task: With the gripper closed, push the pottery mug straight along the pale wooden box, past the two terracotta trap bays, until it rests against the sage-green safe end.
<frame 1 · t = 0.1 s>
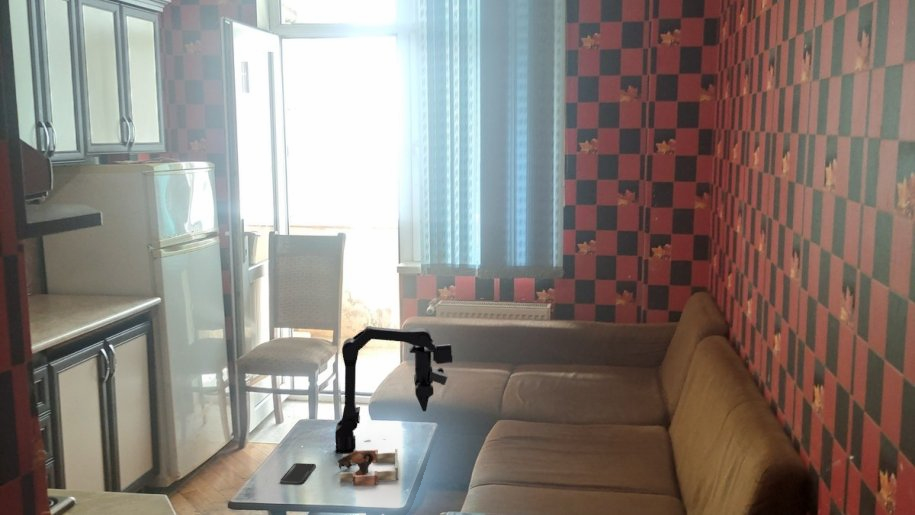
hand: (424, 407, 291), 15 cm above the table, tool pointing down, fingers open, 9 cm apart
pottery mug: (357, 472, 272), on the table
phone: (298, 476, 270), on the table
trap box: (370, 471, 272), on the table
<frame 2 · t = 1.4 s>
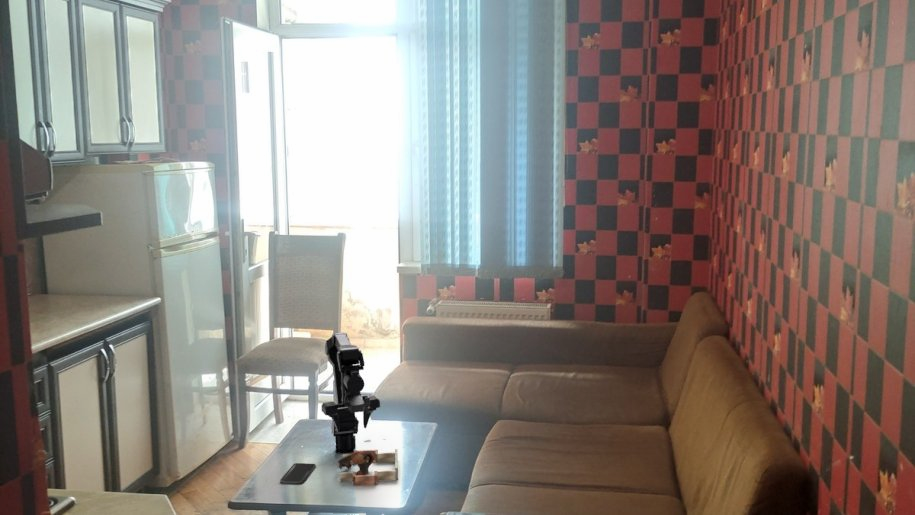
hand: (351, 430, 275), 13 cm above the table, tool pointing down, fingers open, 9 cm apart
nothing on the table moved.
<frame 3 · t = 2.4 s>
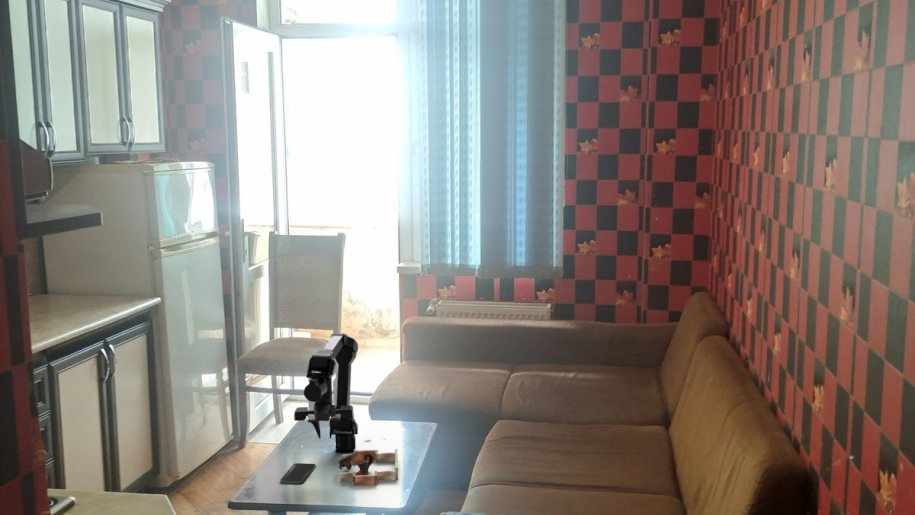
hand: (325, 438, 269), 12 cm above the table, tool pointing down, fingers open, 3 cm apart
nothing on the table moved.
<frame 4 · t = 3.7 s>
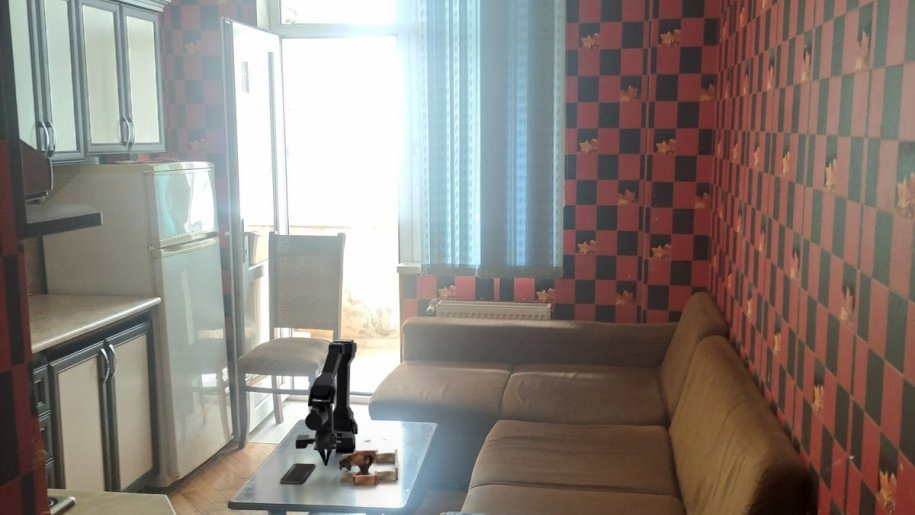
hand: (326, 465, 271), 3 cm above the table, tool pointing down, fingers closed
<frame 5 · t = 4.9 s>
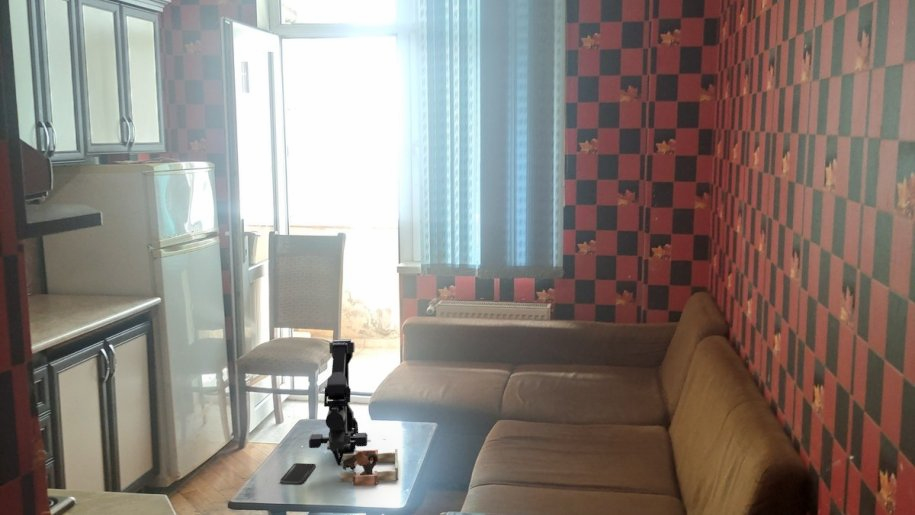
hand: (339, 465, 271), 3 cm above the table, tool pointing down, fingers closed
pottery mug: (361, 474, 270), on the table, touching gripper
everything else where it was.
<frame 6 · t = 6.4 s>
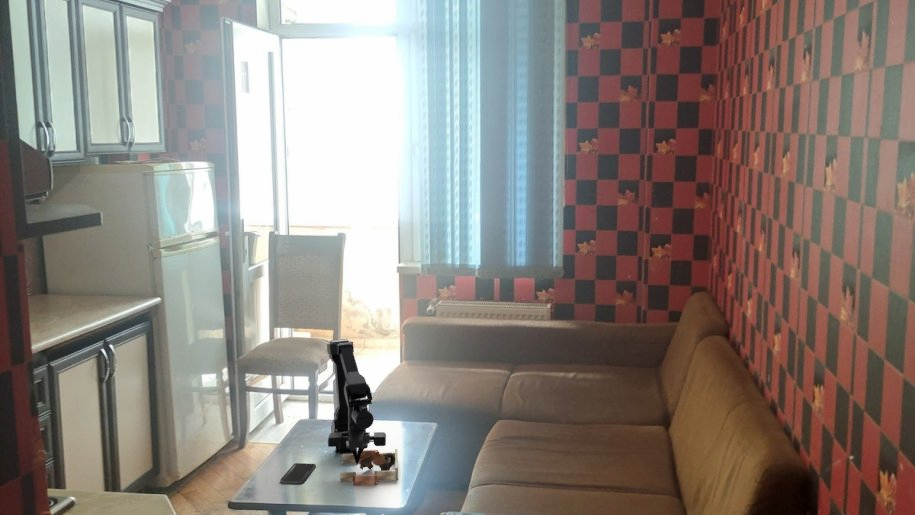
hand: (357, 464, 272), 3 cm above the table, tool pointing down, fingers closed
pottery mug: (378, 474, 270), on the table, touching gripper, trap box
everything else where it was.
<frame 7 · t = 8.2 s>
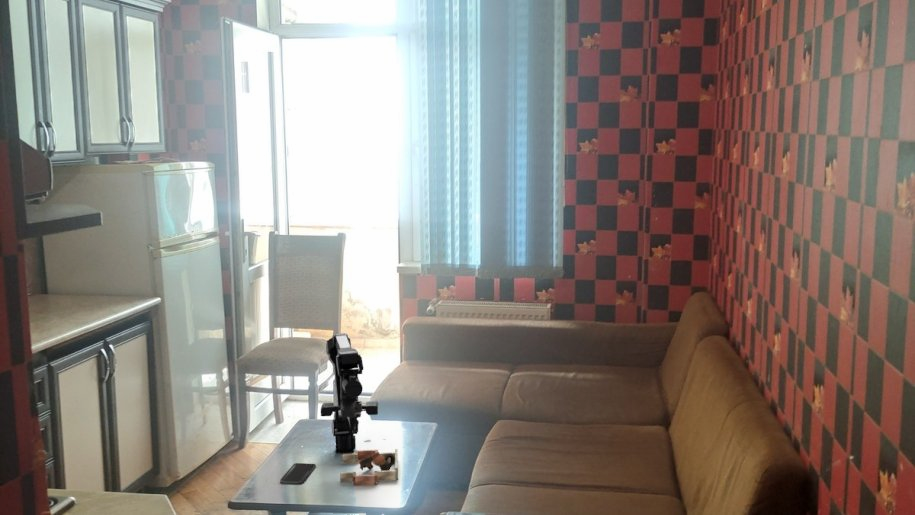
hand: (350, 433, 274), 12 cm above the table, tool pointing down, fingers closed
pottery mug: (378, 474, 270), on the table, touching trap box
everything else where it was.
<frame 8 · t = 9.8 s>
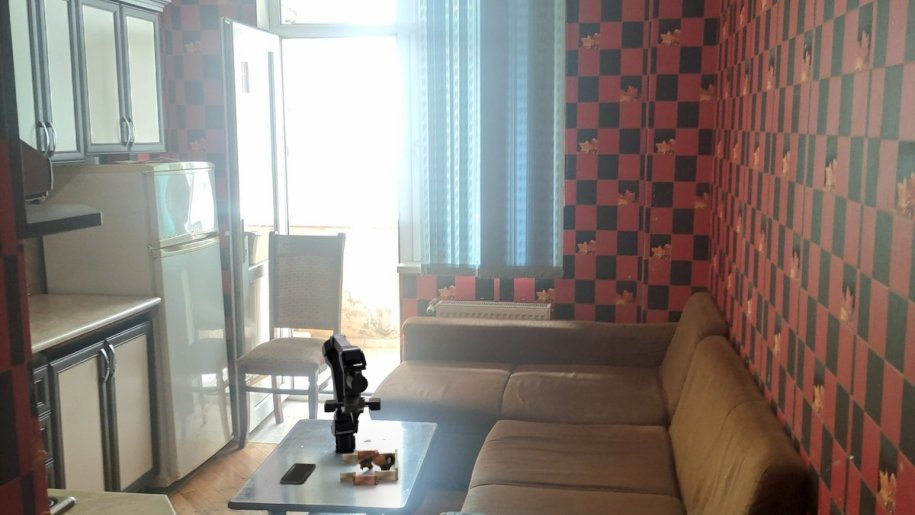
hand: (353, 429, 277), 12 cm above the table, tool pointing down, fingers closed
pottery mug: (378, 474, 270), on the table
everything else where it was.
at the end: pottery mug inside the target area (2.4 cm from its centre), on the table; pottery mug tilted 0°; pottery mug moved 7.5 cm from its start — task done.
